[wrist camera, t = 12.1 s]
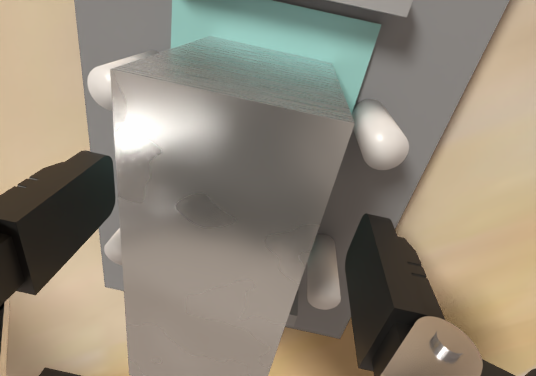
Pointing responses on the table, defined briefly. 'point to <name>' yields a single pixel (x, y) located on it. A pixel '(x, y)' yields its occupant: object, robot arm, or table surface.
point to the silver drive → (220, 199)
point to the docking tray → (353, 86)
